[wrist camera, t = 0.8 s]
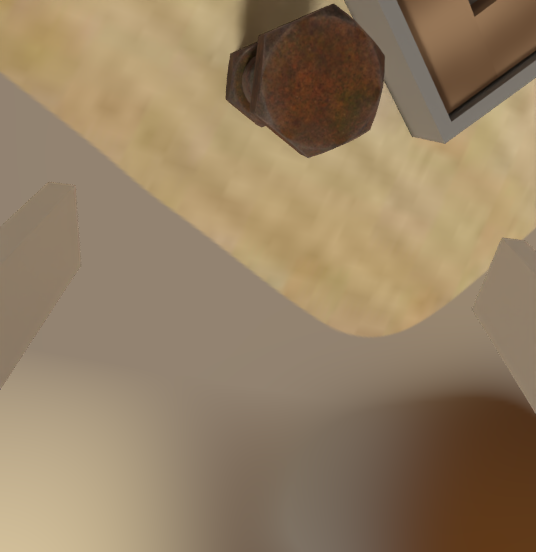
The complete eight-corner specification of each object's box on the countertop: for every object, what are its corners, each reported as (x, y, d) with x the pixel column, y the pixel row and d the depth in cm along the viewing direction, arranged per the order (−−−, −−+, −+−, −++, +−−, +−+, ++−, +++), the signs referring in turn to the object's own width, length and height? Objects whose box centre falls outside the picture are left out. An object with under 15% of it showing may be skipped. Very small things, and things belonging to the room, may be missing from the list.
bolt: (306, 79, 34) (413, 79, 20) (261, 139, 34) (336, 180, 21) (239, 18, 31) (309, -28, 18) (193, 84, 32) (226, 89, 19)
